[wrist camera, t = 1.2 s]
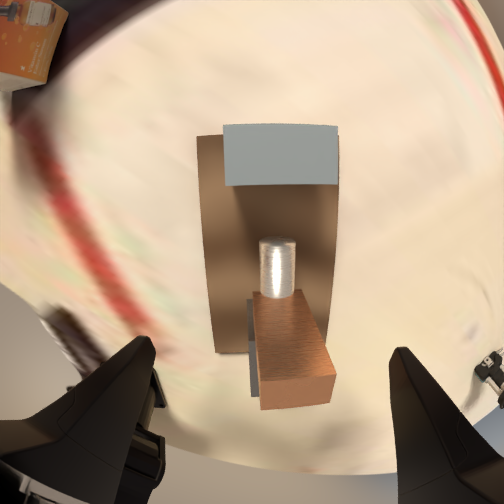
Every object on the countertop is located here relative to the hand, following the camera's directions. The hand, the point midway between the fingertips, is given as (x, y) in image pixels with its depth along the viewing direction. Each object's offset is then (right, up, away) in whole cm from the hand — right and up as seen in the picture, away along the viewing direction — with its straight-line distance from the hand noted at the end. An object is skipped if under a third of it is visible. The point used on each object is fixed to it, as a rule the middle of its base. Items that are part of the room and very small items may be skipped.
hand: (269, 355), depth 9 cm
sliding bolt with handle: (+1, -2, +11) cm, 11 cm away
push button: (+37, -14, +21) cm, 45 cm away
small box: (-21, +23, +5) cm, 31 cm away
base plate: (+1, +4, +13) cm, 13 cm away
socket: (+1, +10, +9) cm, 14 cm away
